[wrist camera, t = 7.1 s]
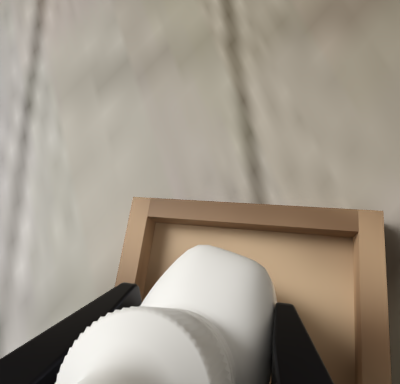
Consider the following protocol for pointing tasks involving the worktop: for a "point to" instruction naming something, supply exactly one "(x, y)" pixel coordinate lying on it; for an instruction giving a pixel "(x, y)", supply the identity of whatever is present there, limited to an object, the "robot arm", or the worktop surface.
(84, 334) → the eye dropper bottle
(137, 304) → the robot arm
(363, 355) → the shallow wooden tray
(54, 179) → the worktop surface
